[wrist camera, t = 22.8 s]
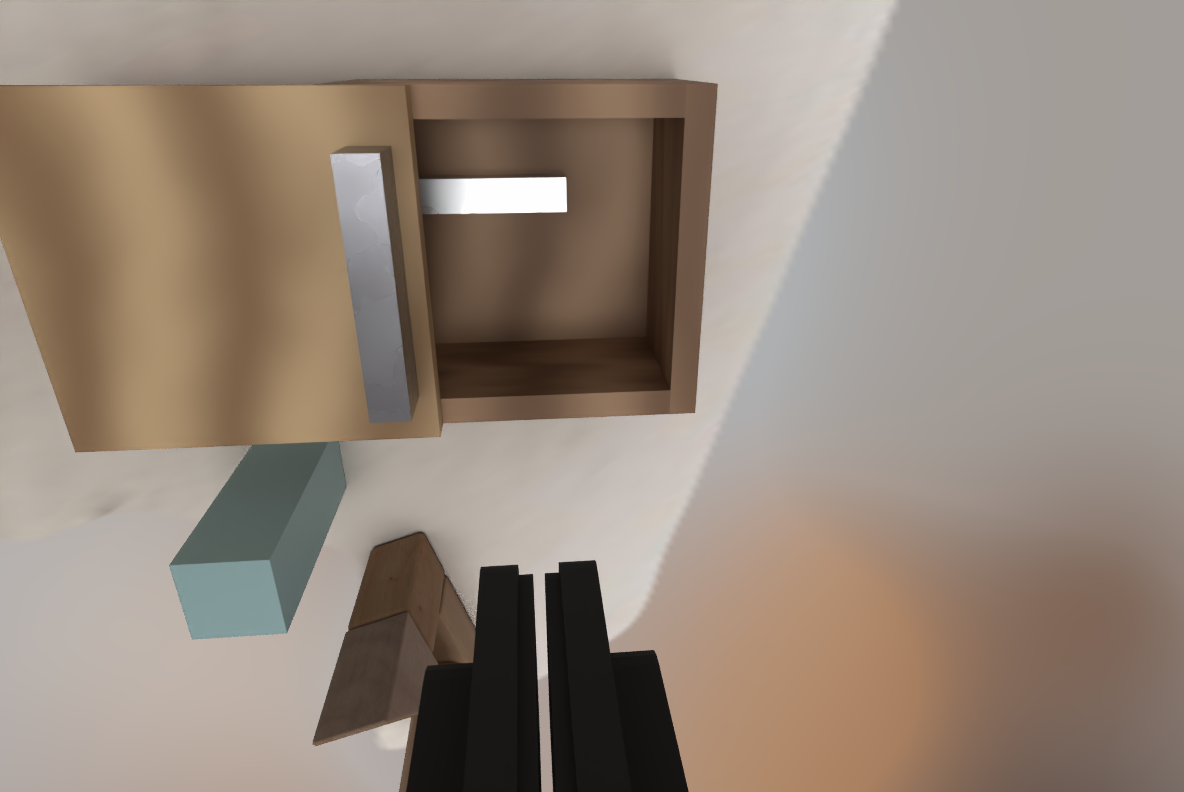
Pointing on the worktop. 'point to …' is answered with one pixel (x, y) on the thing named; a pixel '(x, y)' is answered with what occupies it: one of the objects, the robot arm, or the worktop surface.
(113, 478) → the worktop surface
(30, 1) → the worktop surface
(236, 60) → the worktop surface
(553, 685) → the robot arm
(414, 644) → the wooden block structure
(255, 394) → the lid
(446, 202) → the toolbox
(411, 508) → the worktop surface
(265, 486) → the teal rectangular block
